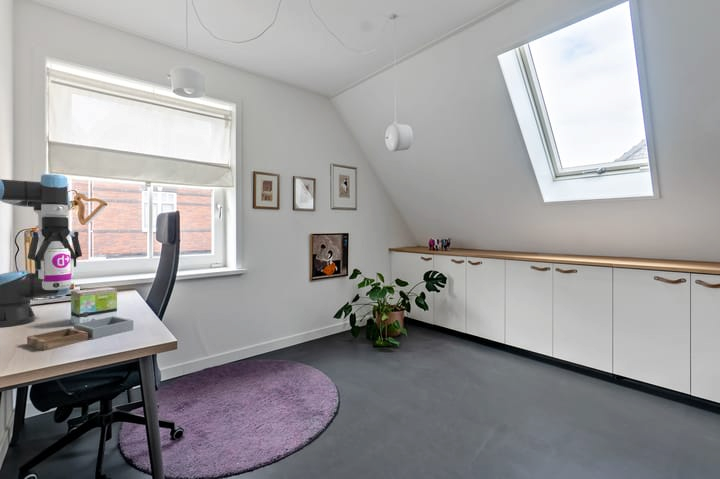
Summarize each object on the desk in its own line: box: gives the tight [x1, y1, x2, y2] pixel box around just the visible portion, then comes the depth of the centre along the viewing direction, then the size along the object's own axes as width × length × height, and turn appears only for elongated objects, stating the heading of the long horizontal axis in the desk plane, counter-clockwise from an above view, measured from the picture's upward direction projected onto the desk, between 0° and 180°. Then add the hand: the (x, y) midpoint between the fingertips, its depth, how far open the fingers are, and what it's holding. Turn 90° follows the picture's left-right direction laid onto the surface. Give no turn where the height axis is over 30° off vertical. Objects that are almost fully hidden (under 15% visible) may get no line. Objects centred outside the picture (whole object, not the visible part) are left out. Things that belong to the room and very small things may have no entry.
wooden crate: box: [26, 327, 89, 351], centre depth 131 cm, size 13×13×3 cm
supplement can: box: [41, 247, 72, 290], centre depth 131 cm, size 8×8×15 cm
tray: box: [73, 316, 134, 340], centre depth 145 cm, size 15×15×4 cm
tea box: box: [70, 286, 118, 325], centre depth 163 cm, size 15×10×15 cm, turn 148°
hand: (56, 277), depth 131 cm, fingers closed on supplement can, 8 cm apart
